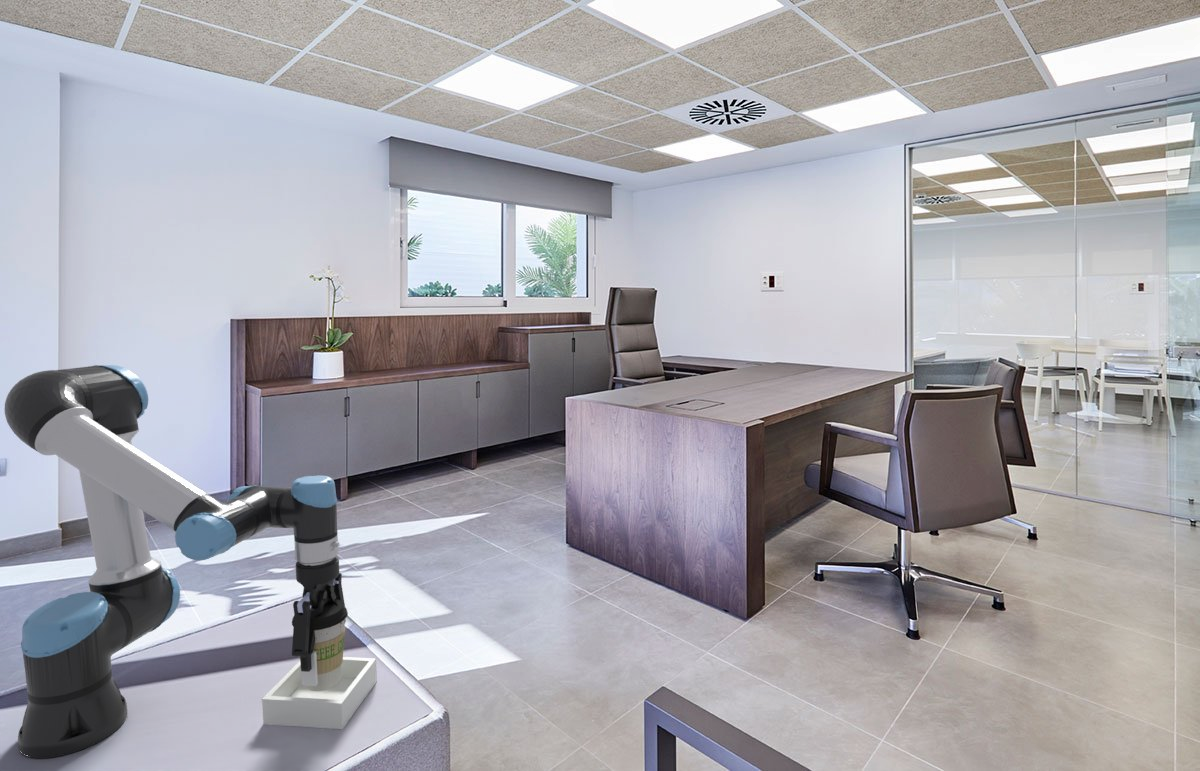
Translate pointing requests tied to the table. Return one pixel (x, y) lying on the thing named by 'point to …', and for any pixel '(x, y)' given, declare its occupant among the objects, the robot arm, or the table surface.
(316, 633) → the coffee cup
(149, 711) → the table surface
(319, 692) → the bin
